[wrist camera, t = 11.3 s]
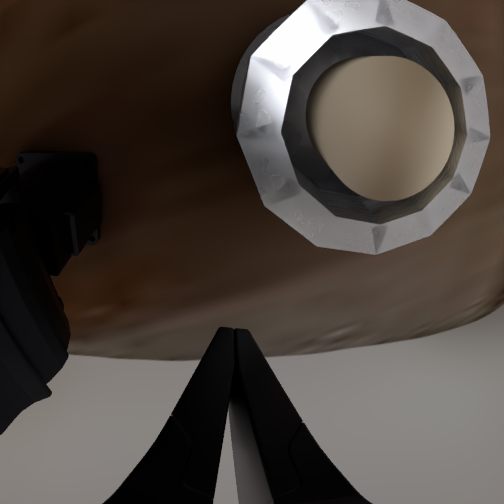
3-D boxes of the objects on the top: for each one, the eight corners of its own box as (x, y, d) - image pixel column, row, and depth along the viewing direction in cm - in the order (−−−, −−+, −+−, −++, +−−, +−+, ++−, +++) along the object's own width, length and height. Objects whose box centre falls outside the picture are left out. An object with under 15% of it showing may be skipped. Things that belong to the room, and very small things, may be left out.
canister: (217, 182, 19) (207, 242, 13) (251, -12, 12) (259, -56, 7) (392, 212, 20) (441, 272, 14) (439, 50, 14) (515, 58, 8)
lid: (293, 163, 14) (305, 186, 12) (319, 40, 11) (339, 34, 9) (401, 186, 15) (429, 212, 13) (431, 80, 12) (467, 88, 9)
